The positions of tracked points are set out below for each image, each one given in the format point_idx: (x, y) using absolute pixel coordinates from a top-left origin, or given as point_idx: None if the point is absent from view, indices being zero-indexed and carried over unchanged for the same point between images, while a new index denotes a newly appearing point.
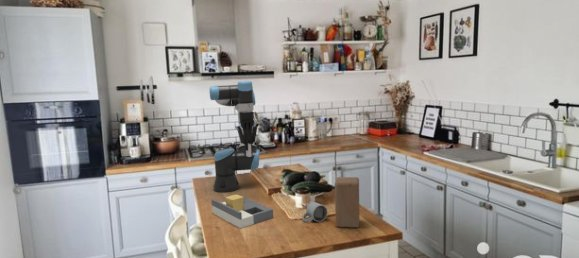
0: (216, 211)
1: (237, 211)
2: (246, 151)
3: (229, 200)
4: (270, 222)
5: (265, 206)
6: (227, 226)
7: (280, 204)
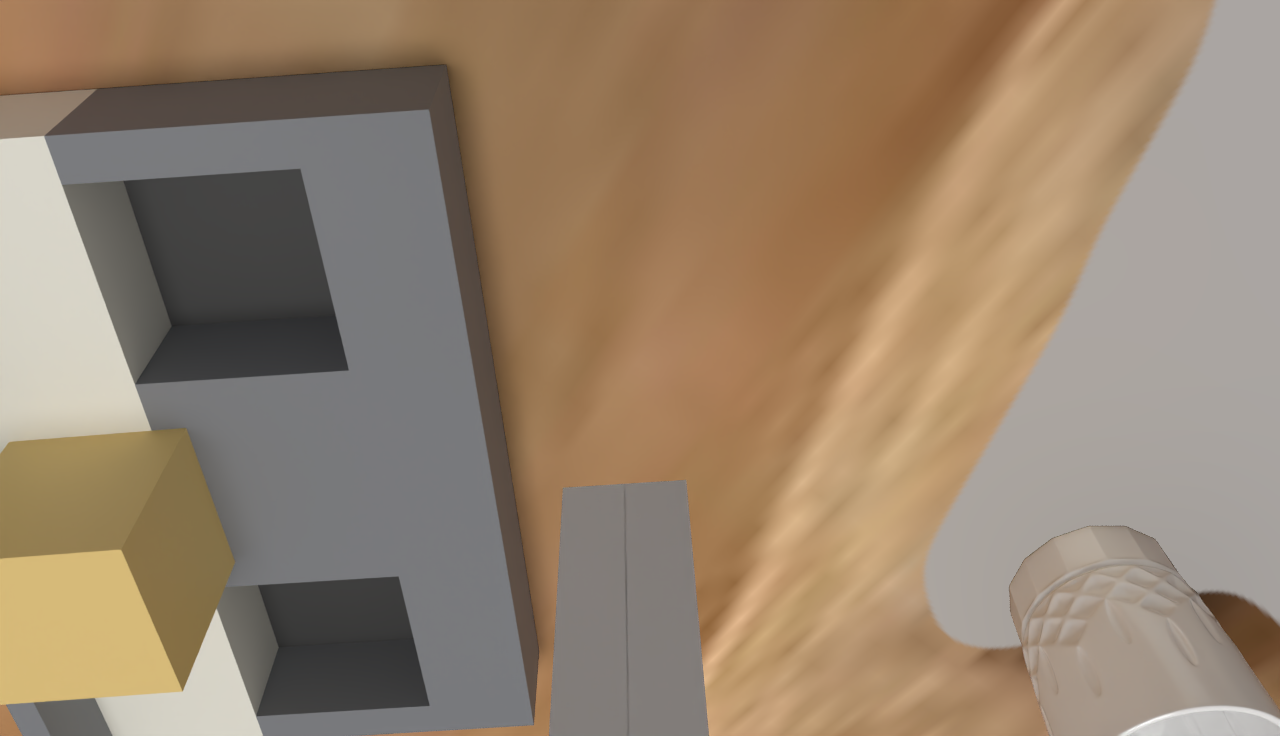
0: None
1: None
2: (557, 679)
3: None
4: None
5: (510, 625)
6: None
7: (858, 405)
